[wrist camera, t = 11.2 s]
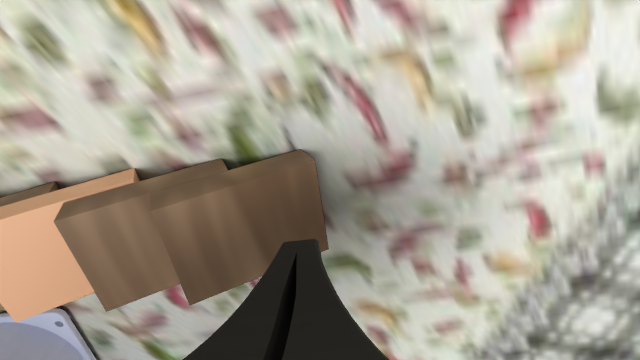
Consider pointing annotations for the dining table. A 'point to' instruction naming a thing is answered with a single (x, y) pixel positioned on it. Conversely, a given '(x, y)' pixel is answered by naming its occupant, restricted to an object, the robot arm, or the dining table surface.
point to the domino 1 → (44, 250)
